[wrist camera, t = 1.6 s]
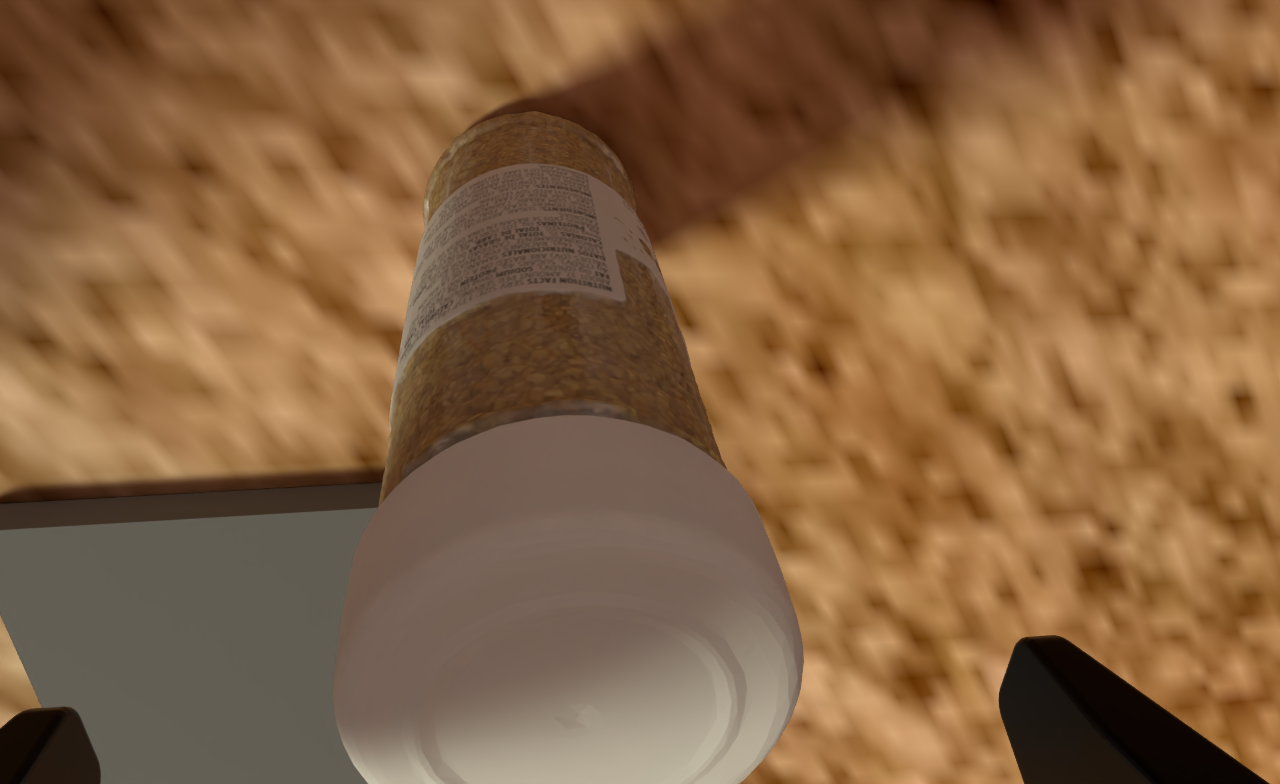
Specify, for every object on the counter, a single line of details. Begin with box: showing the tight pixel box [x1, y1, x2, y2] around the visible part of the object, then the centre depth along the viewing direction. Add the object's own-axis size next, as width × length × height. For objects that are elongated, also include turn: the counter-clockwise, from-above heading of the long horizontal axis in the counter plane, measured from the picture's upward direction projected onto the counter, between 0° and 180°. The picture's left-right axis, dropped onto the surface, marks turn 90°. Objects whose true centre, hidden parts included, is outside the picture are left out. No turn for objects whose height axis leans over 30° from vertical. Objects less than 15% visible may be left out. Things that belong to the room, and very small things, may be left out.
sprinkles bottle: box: [332, 111, 804, 784], centre depth 14 cm, size 5×5×14 cm
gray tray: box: [0, 483, 382, 784], centre depth 26 cm, size 16×12×1 cm
